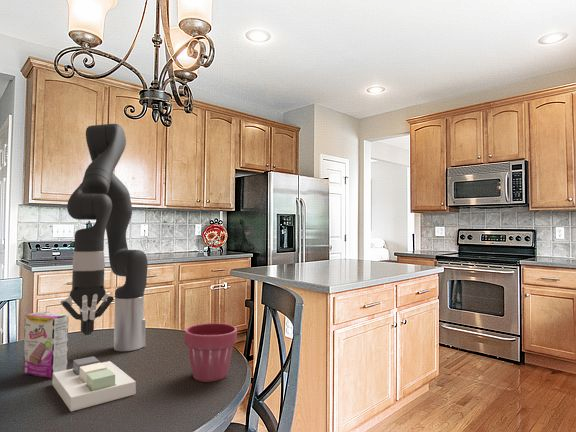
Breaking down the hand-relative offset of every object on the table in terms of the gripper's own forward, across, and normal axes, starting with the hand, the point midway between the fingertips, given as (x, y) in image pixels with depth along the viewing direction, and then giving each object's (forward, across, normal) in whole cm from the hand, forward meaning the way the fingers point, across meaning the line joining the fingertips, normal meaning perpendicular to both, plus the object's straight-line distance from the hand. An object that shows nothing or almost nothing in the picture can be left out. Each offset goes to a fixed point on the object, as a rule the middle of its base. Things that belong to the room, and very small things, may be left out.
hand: (86, 334), depth 102 cm
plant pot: (+12, -27, +18) cm, 35 cm away
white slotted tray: (+12, 0, +6) cm, 14 cm away
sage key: (+10, 0, +13) cm, 16 cm away
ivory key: (+10, 0, +6) cm, 12 cm away
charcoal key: (+10, 0, 0) cm, 10 cm away
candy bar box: (+12, +7, -14) cm, 20 cm away
